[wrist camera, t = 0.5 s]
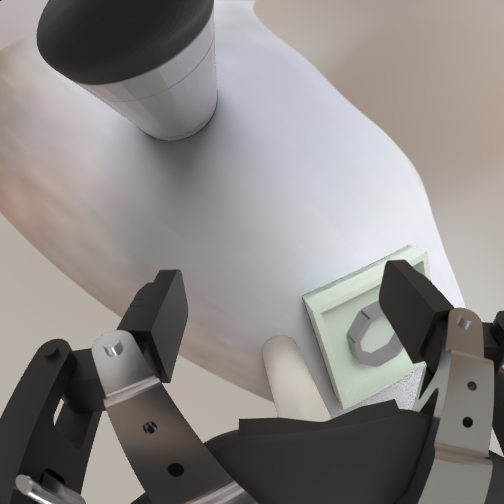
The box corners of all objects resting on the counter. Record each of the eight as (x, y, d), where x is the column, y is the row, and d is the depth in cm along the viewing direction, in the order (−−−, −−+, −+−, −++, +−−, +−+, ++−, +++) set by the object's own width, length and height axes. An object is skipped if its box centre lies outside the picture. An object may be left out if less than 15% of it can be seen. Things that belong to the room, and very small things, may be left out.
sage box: (302, 296, 32) (312, 309, 28) (408, 244, 32) (426, 251, 28) (334, 393, 36) (343, 409, 33) (420, 345, 37) (433, 357, 33)
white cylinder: (256, 343, 33) (276, 426, 19) (290, 330, 33) (327, 406, 19) (268, 369, 34) (291, 450, 20) (300, 356, 34) (336, 432, 20)
